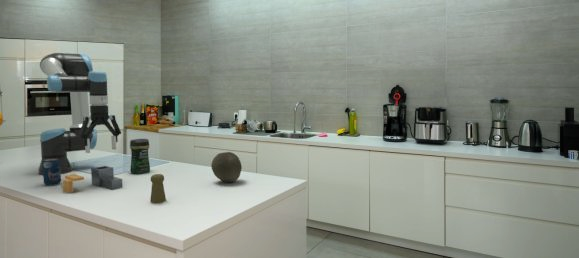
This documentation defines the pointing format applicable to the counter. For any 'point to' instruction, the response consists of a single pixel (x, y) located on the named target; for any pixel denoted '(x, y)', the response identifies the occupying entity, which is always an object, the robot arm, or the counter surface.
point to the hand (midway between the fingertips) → (101, 150)
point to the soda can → (51, 172)
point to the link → (105, 178)
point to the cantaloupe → (226, 166)
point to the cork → (157, 189)
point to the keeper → (70, 182)
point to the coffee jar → (139, 156)
